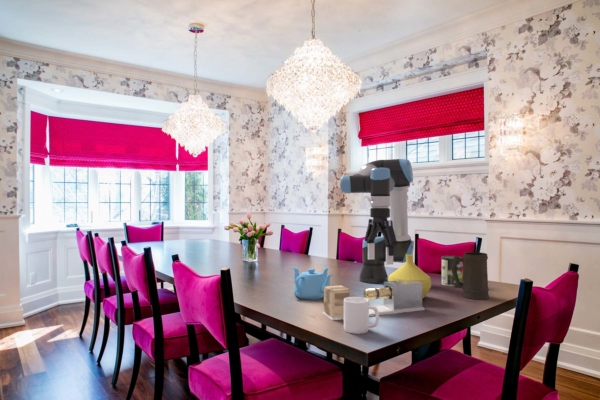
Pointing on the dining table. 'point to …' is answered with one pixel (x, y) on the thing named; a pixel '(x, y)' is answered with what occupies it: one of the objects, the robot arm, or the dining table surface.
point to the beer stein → (472, 275)
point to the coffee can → (450, 271)
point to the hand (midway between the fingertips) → (379, 261)
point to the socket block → (335, 300)
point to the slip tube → (378, 293)
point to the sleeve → (404, 295)
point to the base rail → (381, 310)
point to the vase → (412, 275)
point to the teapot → (311, 284)
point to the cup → (358, 315)
